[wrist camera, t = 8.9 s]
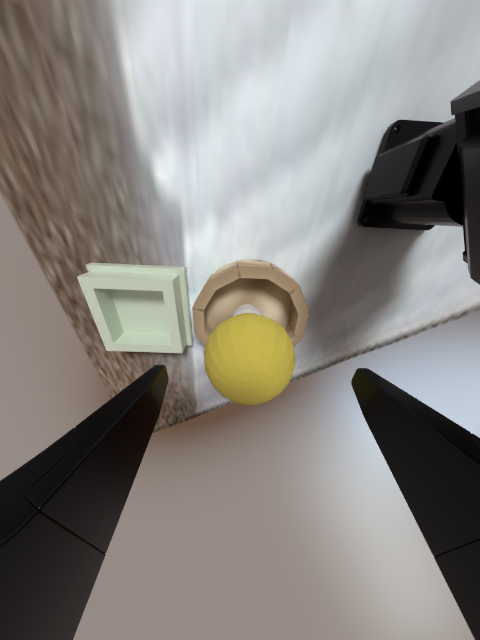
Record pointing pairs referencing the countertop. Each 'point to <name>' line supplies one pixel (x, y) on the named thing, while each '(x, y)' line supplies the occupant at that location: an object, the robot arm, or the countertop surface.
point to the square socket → (139, 306)
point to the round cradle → (250, 298)
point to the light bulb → (249, 357)
